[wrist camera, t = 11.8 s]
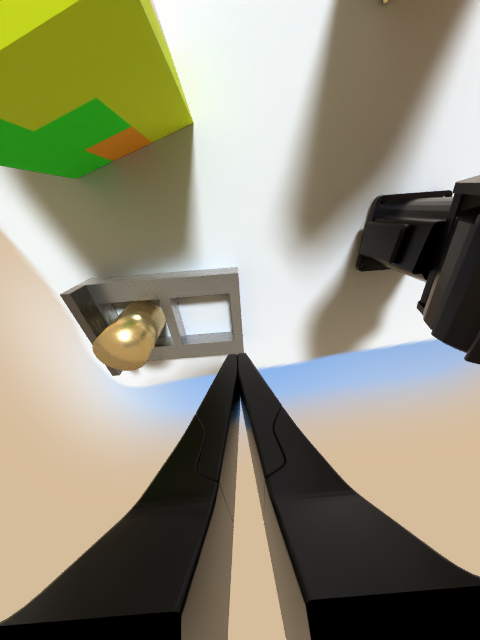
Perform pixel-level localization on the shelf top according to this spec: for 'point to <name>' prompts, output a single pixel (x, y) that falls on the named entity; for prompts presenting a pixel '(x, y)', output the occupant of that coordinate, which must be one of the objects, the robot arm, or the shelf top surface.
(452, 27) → the shelf top surface
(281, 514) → the robot arm
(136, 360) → the gold metal cylinder
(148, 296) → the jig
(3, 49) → the puzzle toy
